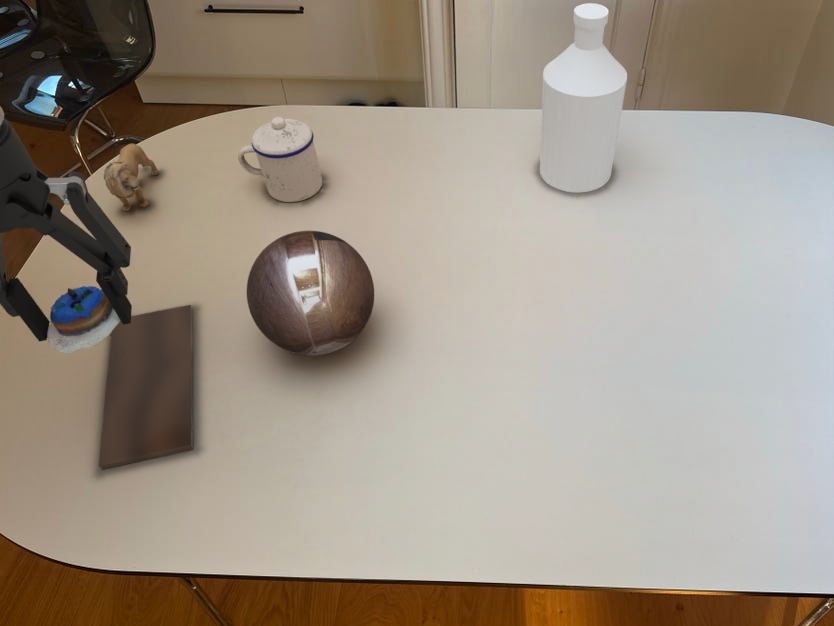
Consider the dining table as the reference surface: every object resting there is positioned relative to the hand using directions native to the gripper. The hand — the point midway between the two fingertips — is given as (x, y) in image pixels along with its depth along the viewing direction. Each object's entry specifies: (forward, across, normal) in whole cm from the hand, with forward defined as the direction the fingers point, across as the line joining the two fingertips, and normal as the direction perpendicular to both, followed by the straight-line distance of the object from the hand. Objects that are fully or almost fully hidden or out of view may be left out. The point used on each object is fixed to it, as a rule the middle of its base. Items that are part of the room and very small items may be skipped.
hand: (86, 323), depth 75 cm
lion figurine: (+13, -1, +41) cm, 43 cm away
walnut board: (+13, +2, +2) cm, 14 cm away
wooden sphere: (+14, +23, +4) cm, 27 cm away
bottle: (+14, +66, +28) cm, 73 cm away
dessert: (0, 0, 0) cm, 0 cm away
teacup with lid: (+14, +21, +37) cm, 45 cm away
